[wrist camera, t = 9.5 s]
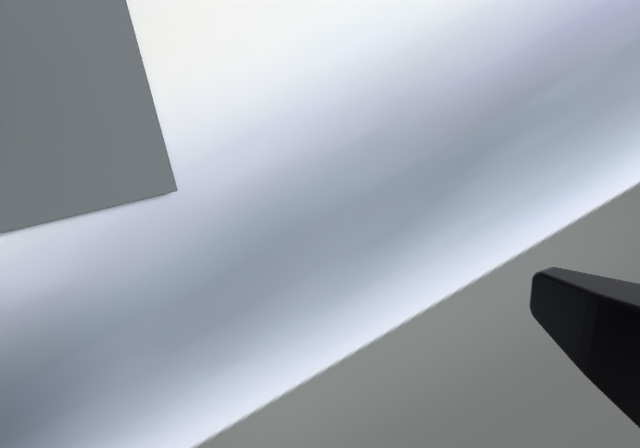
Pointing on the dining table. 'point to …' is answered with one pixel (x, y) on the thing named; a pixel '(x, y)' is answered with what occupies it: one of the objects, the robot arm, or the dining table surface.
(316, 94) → the dining table surface
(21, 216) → the mat
